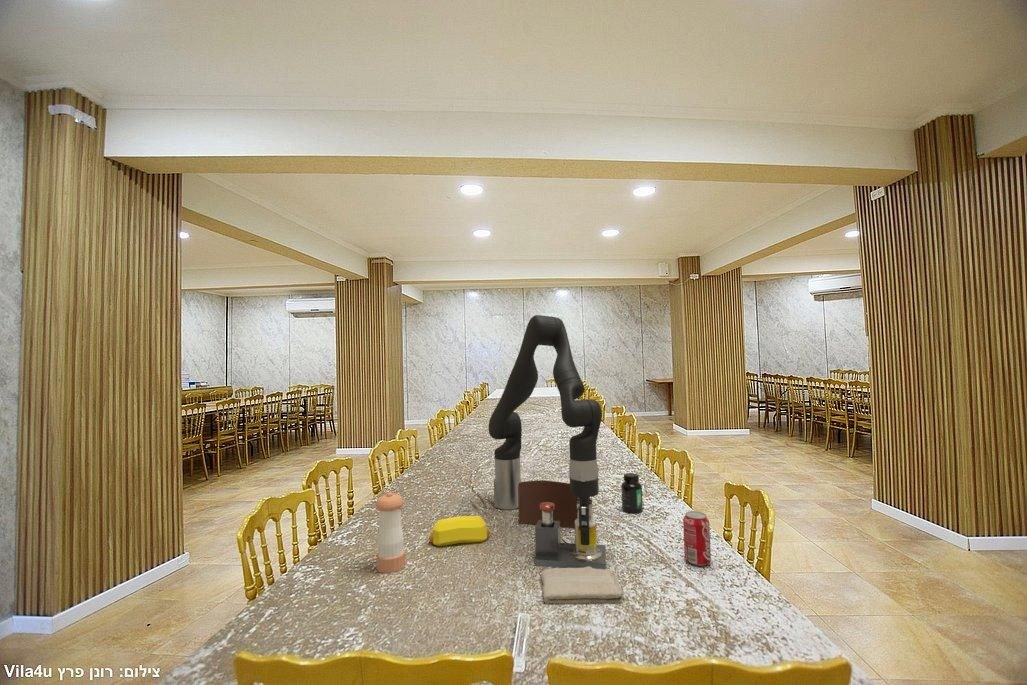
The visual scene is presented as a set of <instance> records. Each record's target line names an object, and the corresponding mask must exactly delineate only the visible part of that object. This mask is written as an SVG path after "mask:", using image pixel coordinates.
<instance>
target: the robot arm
mask: <svg viewBox="0 0 1027 685" xmlns="http://www.w3.org/2000/svg"><path fill="white" fill-rule="evenodd" d="M566 329H567V328H566V326H565V324H564V321H563V320H562V319H561V318H559V317H556V316H549V315H541V314H536V315H533V316H532V317H531V318H530V319H529V321H528V322H527V325H526V328H525V331H524V334H523V339H522V343H521V345H520V349H519V352H518V355H517V357H516V360H515V363H514V365H513V368H512V369H511V371H510V374H509V375H508V379H507V382H506V385H505V388H504V390H503V392H502V394H501V397H500V399H499V401H498V402H497V404H496V407H495V408H494V410H493V411H492V413H491V416H490V417H489V421H488V434H489V436H490V437H491V438H492V439H494V440H504V442H503V443H502V444H501V445H500V446H498V447H497V448H495V449H494V451H493V452H494V456H493V458H494V475H495V476H494V479H493V504H494V506H493V507H494V508H497V509H499V510H500V509H501V510H508V511H509V510H515V509H519V508H518V484H519V483H520V482H522V480H521V476H522V475H521V450H522V435H523V434H522V433H523V432H522V430H523V429H522V420H521V417H520V415H519V414H518V413H517V412H515V411H516V410H517V409H518V408H519V407H521V405H522V404H524V403H525V402H526V401H527V400H528V399H529V398H530V397H531V396H532V394H533V392H534V390H535V388H536V385H537V383H538V380H539V373H538V368H537V365H536V362H535V357H534V356H535V353H536V349H537V348H538V346H547V347H553V348H554V350H555V352H556V359H555V361H554V365H553V369H552V376H553V381H554V383H555V385H556V387H557V391H558V393H559V398H560V403H561V404H560V405H561V406H560V408H561V410H560V411H561V418H562V421H563V423H564V424H565V425H566V426H567V427H569V428H583V429H582V431H581V432H580V433H578V434H576V435H573V436H572V437H570V438H569V444H568V445H569V466H568V467H569V468H568V469H569V484H570V493H571V494H572V495H574V496H578V497H579V498H580V499H577V509H578V520H579V530H580V535H581V544H582V545H589V544H590V539H589V529H590V527H589V522H590V521H591V512H592V513H593V499H592V497H593V498H594V497H596V496H597V495H598V494H599V492H600V488H599V487H600V486H599V466H598V460H597V458H598V457H597V441H598V435H599V431H600V428H601V423H602V418H603V410H602V407H601V405H600V403H599V402H598V401H597V400H596V399H593V398H588V399H580V398H581V397H583V395H584V393H585V389H586V388H585V385H584V383H583V381H582V378H581V376H580V374H579V372H578V370H577V367H576V365H575V361H574V358H573V353H572V350H571V345H570V341H569V337H568V333H567V330H566ZM582 521H586V522H587V525H582Z"/></svg>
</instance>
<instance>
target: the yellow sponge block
mask: <svg viewBox="0 0 1027 685" xmlns="http://www.w3.org/2000/svg"><path fill="white" fill-rule="evenodd" d="M490 533H491V530H490V528H489V527H487V524H486V522H485V520H484V519H483V518H482V517H481V515H463V516H462V515H461V516H454V517H448V518H442V519H438V520H437V521H436V523H435V524H434V525H433V528H432V533H430V534H429V537H428V539H429V541H430V543H433V545H434V546H436V547H443V546H452V545H457V544H461V543H462V544H464V543H466V544H467V543H470V544H471V543H482V542H485V541H486V540H488V537H490V535H491V534H490Z"/></svg>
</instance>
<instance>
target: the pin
mask: <svg viewBox="0 0 1027 685" xmlns="http://www.w3.org/2000/svg"><path fill="white" fill-rule="evenodd" d="M540 509H541V510H542V524H543V527H553V510H554V509H555V504H554V503H551V502H543V503H540Z"/></svg>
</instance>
